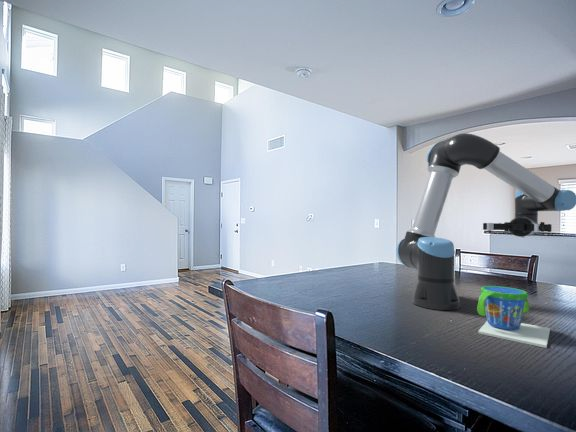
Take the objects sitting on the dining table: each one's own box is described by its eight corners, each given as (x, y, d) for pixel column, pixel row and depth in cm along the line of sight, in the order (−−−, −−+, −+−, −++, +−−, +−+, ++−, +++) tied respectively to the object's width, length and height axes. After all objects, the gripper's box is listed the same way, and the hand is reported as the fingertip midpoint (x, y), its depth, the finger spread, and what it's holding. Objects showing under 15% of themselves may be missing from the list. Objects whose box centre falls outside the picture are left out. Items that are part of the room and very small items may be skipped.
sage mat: (546, 348, 74) (546, 345, 74) (478, 333, 84) (478, 331, 84) (550, 330, 86) (550, 328, 86) (490, 319, 96) (489, 317, 96)
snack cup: (512, 319, 94) (512, 284, 94) (546, 331, 83) (546, 293, 84) (464, 321, 92) (464, 286, 92) (492, 334, 81) (492, 294, 81)
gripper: (563, 238, 115) (558, 240, 100) (485, 234, 132) (470, 236, 117) (564, 217, 115) (558, 216, 100) (485, 217, 133) (470, 216, 117)
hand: (510, 227), depth 109 cm, fingers open, 13 cm apart
